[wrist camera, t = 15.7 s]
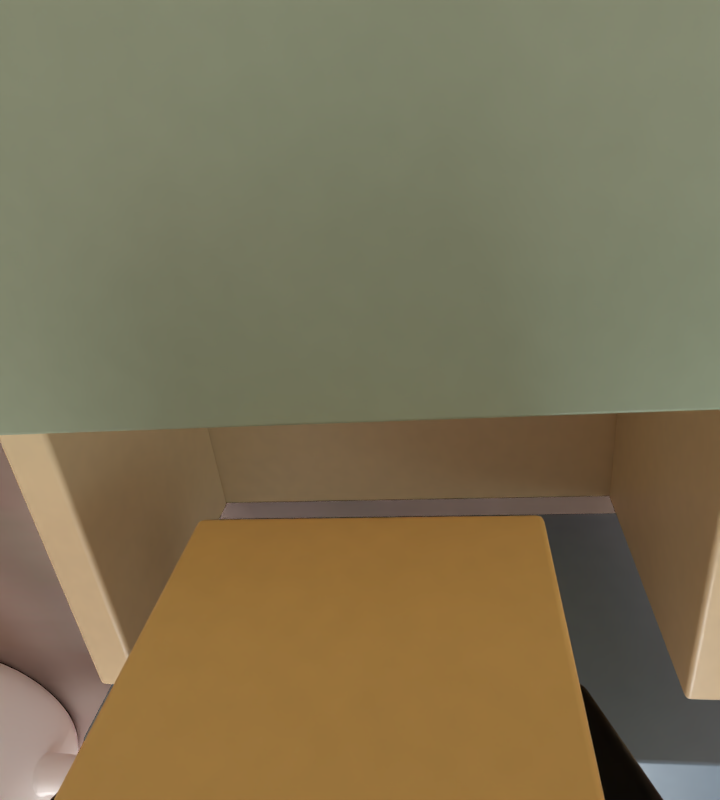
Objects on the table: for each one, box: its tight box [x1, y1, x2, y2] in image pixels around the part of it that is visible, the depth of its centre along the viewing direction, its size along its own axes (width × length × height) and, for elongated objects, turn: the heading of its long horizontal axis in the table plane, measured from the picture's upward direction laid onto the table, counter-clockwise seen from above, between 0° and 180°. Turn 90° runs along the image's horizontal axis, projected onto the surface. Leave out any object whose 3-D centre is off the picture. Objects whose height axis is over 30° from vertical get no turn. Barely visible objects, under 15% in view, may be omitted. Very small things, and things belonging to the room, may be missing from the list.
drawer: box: [0, 410, 720, 800], centre depth 13 cm, size 19×12×7 cm, turn 6°
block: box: [54, 515, 605, 800], centre depth 7 cm, size 4×4×4 cm
